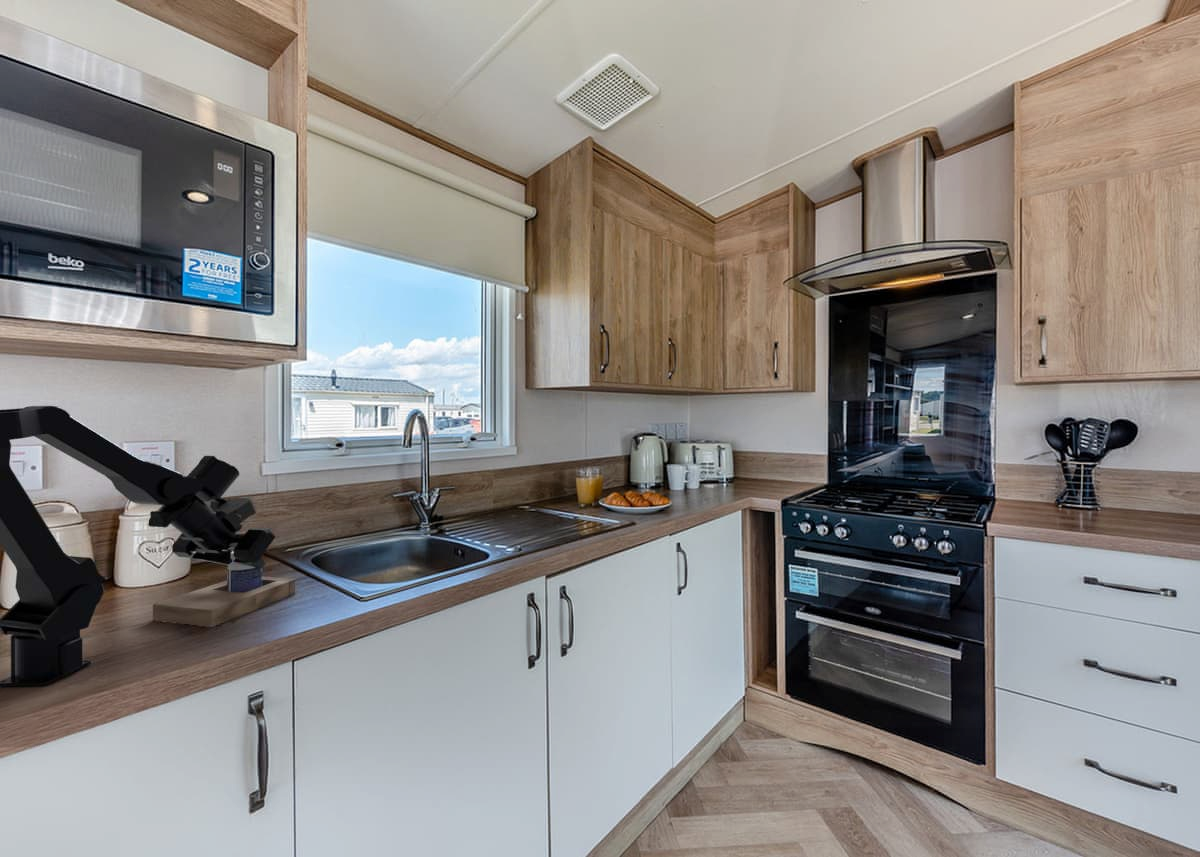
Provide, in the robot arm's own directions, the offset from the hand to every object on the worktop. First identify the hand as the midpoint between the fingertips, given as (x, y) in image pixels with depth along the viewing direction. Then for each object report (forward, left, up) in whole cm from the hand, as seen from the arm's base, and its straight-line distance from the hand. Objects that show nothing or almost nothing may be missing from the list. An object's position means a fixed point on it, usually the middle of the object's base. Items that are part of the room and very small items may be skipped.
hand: (251, 565), depth 102 cm
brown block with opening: (-1, -5, -7) cm, 8 cm away
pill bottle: (0, -1, -7) cm, 7 cm away
